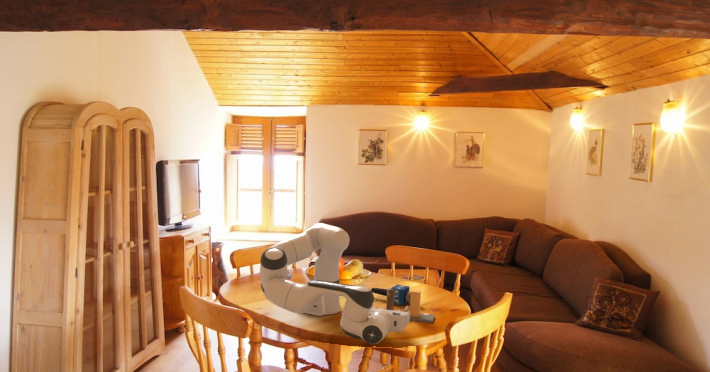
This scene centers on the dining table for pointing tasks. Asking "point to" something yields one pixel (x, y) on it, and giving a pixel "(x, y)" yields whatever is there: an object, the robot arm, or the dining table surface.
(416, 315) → the tan wooden block
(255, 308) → the dining table surface
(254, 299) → the dining table surface
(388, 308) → the brown wooden post
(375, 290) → the microphone
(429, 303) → the dining table surface
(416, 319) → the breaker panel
